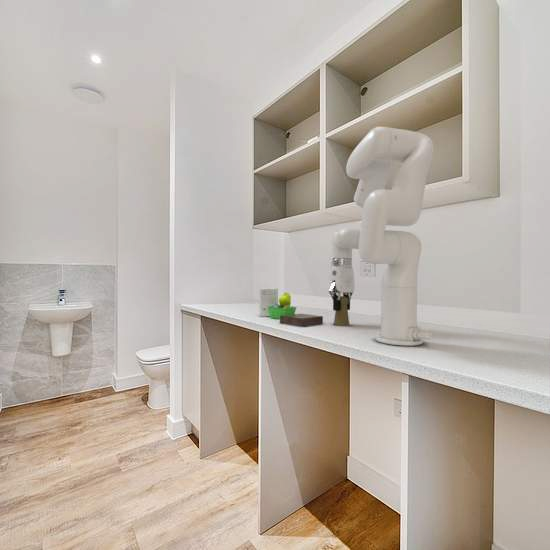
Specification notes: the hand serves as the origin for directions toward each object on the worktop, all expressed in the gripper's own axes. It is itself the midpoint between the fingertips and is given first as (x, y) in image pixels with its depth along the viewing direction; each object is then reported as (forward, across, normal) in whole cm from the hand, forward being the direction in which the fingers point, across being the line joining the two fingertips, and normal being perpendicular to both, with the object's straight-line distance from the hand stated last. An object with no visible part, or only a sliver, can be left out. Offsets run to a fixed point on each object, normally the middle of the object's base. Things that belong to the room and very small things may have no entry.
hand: (341, 309), depth 121 cm
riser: (+6, -10, +12) cm, 17 cm away
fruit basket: (+6, -5, +28) cm, 29 cm away
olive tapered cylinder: (+6, 0, 0) cm, 6 cm away
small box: (+6, -4, +39) cm, 40 cm away
